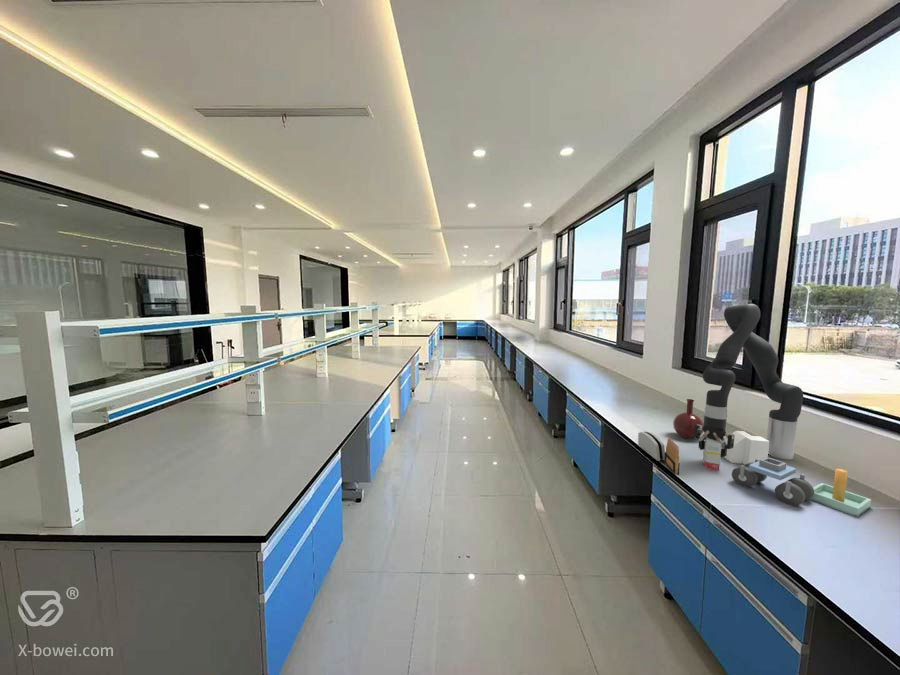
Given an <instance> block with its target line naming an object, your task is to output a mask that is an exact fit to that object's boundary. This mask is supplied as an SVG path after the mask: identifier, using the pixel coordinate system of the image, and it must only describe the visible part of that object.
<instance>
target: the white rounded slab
mask: <svg viewBox="0 0 900 675" xmlns="http://www.w3.org/2000/svg"><path fill="white" fill-rule="evenodd" d="M637 446H638V447H639V448H641V449H642V450H643V451H644V452H645V453H647V454H648V455H650V456H651V457H652V458H653V459H655V460H656V461H657V462H658V461H659V462H661V460H662V461H663V462H664V460H665V452H666V447H665V444H664V443H663V441H662V440H661V439H660V438H659V436H658V435H656V434H654V433H653V432H650V431H639V432H638V435H637Z"/></svg>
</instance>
